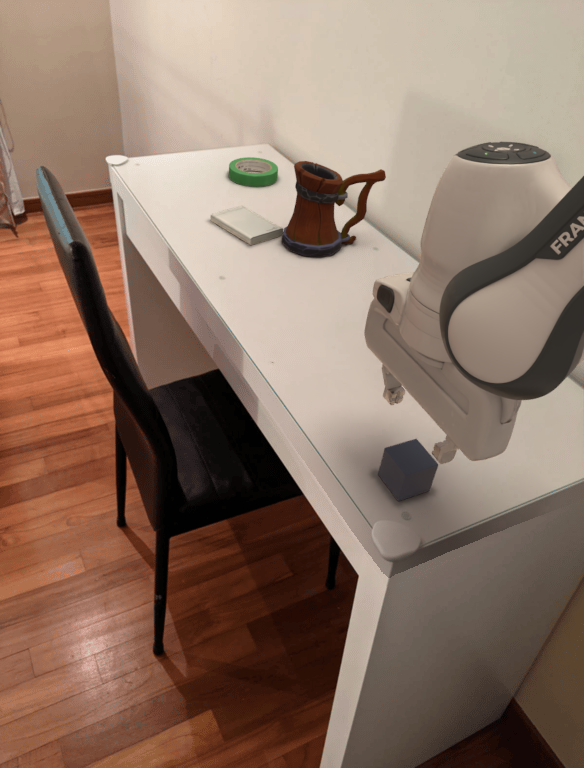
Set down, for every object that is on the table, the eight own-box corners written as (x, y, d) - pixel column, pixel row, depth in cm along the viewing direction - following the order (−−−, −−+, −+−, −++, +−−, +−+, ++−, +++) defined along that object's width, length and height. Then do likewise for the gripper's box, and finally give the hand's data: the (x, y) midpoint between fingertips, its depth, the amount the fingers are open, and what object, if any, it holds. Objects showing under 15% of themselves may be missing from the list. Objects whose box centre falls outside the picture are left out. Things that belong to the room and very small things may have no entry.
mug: (364, 230, 123) (377, 155, 113) (381, 257, 114) (396, 179, 105) (276, 230, 119) (282, 153, 110) (287, 259, 111) (294, 177, 101)
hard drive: (283, 227, 117) (243, 204, 123) (250, 238, 112) (210, 213, 119) (283, 235, 118) (242, 212, 125) (250, 246, 113) (210, 221, 120)
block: (429, 490, 70) (438, 464, 68) (397, 501, 69) (405, 475, 66) (408, 464, 73) (416, 438, 71) (377, 474, 72) (384, 447, 69)
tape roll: (249, 190, 133) (250, 178, 132) (218, 174, 139) (219, 162, 137) (287, 181, 139) (288, 169, 138) (256, 165, 145) (256, 154, 144)
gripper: (554, 381, 51) (501, 489, 60) (416, 264, 65) (389, 366, 73) (496, 397, 49) (450, 508, 57) (365, 272, 62) (344, 377, 71)
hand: (415, 427), depth 65 cm, fingers open, 8 cm apart
